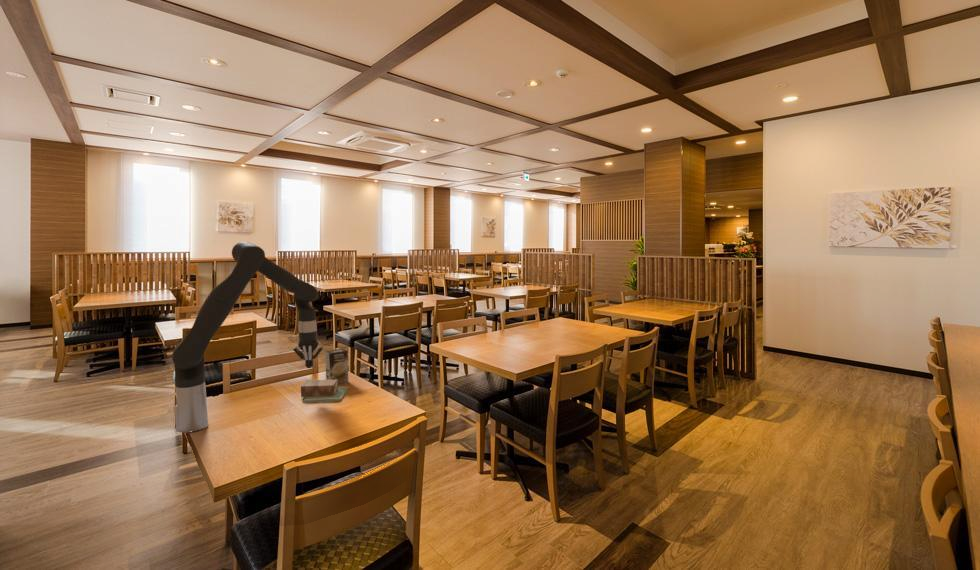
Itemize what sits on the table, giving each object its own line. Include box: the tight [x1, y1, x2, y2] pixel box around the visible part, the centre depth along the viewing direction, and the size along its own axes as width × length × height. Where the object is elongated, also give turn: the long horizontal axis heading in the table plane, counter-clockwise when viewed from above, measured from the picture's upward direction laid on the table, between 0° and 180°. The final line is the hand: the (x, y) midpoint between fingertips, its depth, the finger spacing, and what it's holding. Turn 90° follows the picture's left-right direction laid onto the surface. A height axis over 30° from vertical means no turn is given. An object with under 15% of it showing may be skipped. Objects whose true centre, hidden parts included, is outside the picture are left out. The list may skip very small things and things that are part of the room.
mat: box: [302, 386, 349, 403], centre depth 198 cm, size 16×16×1 cm
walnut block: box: [300, 379, 339, 398], centre depth 198 cm, size 5×8×14 cm
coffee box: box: [325, 348, 349, 385], centre depth 214 cm, size 9×6×16 cm
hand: (309, 367), depth 196 cm, fingers closed
